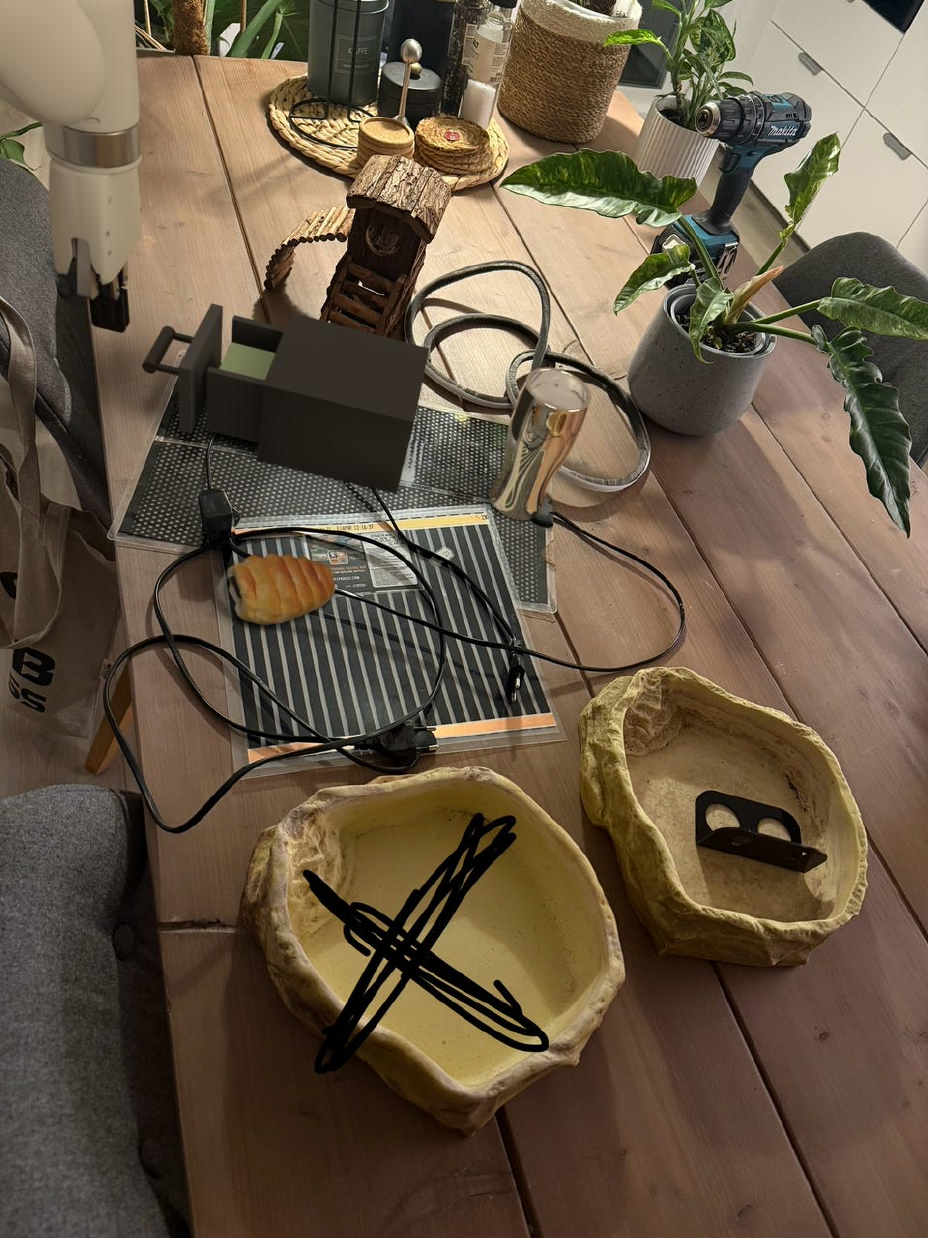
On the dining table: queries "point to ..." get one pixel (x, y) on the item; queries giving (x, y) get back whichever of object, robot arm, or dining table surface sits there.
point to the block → (247, 361)
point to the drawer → (216, 374)
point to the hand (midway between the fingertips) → (110, 324)
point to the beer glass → (538, 440)
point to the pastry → (279, 587)
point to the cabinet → (341, 403)
